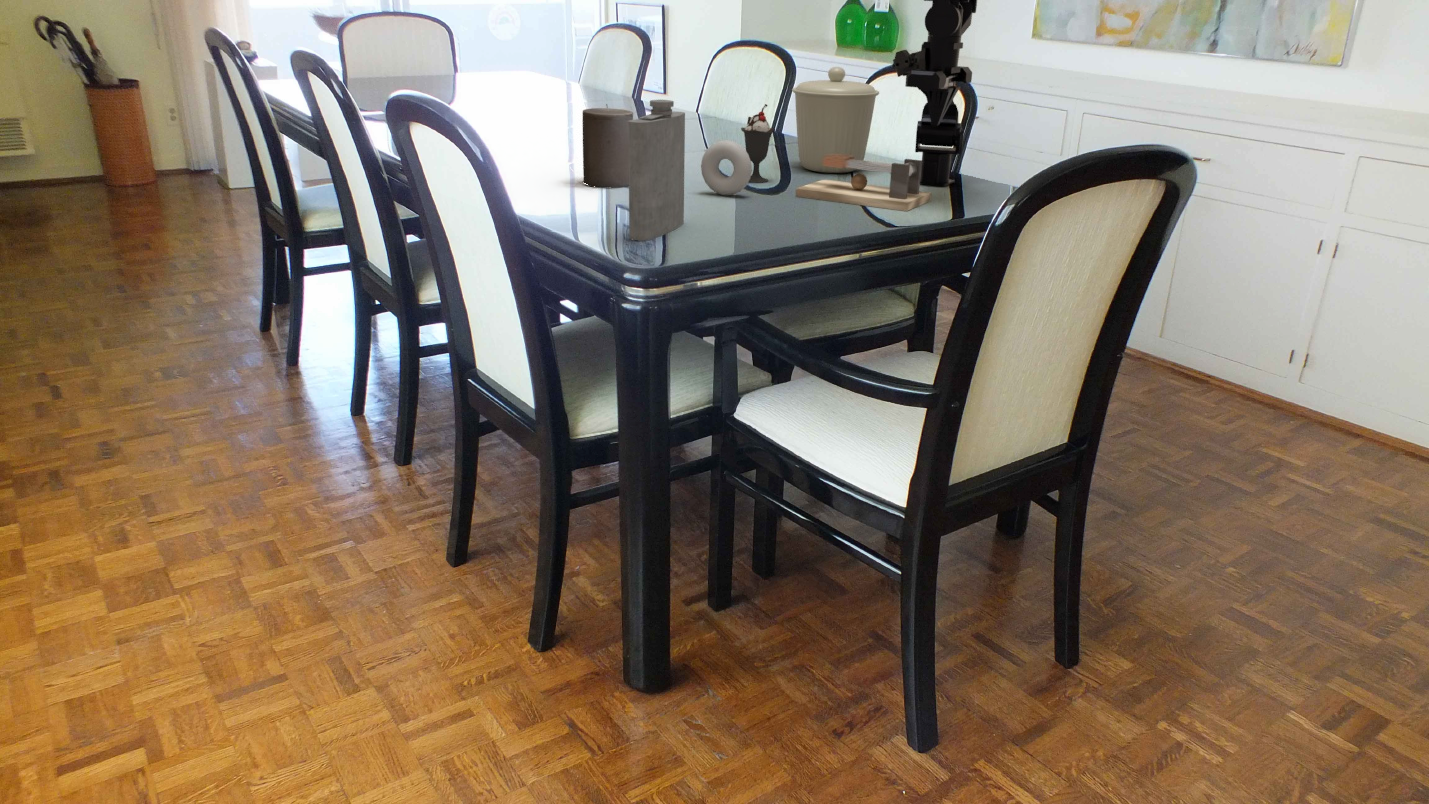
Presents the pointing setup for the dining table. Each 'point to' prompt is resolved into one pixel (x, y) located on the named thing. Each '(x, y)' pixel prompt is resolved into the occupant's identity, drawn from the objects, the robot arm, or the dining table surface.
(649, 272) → the dining table surface
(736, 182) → the donut
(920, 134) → the robot arm
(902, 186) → the base
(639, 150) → the hip flask
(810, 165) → the canister
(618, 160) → the pillar candle
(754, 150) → the sundae
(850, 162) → the lever
